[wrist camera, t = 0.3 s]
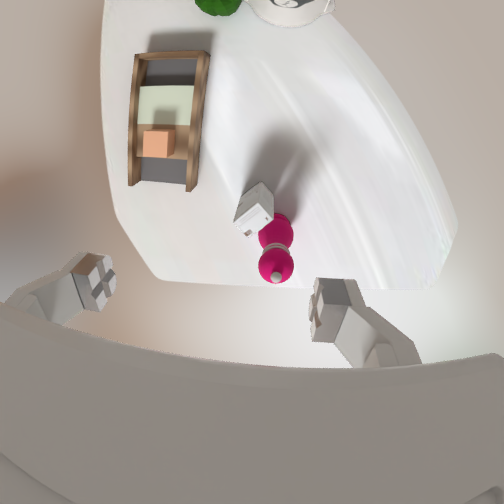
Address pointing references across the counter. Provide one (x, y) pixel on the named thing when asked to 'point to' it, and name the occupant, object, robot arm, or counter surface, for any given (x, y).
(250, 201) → the skincare box
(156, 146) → the block
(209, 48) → the counter surface
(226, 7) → the bell pepper
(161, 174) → the box
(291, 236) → the pepper mill
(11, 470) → the robot arm
